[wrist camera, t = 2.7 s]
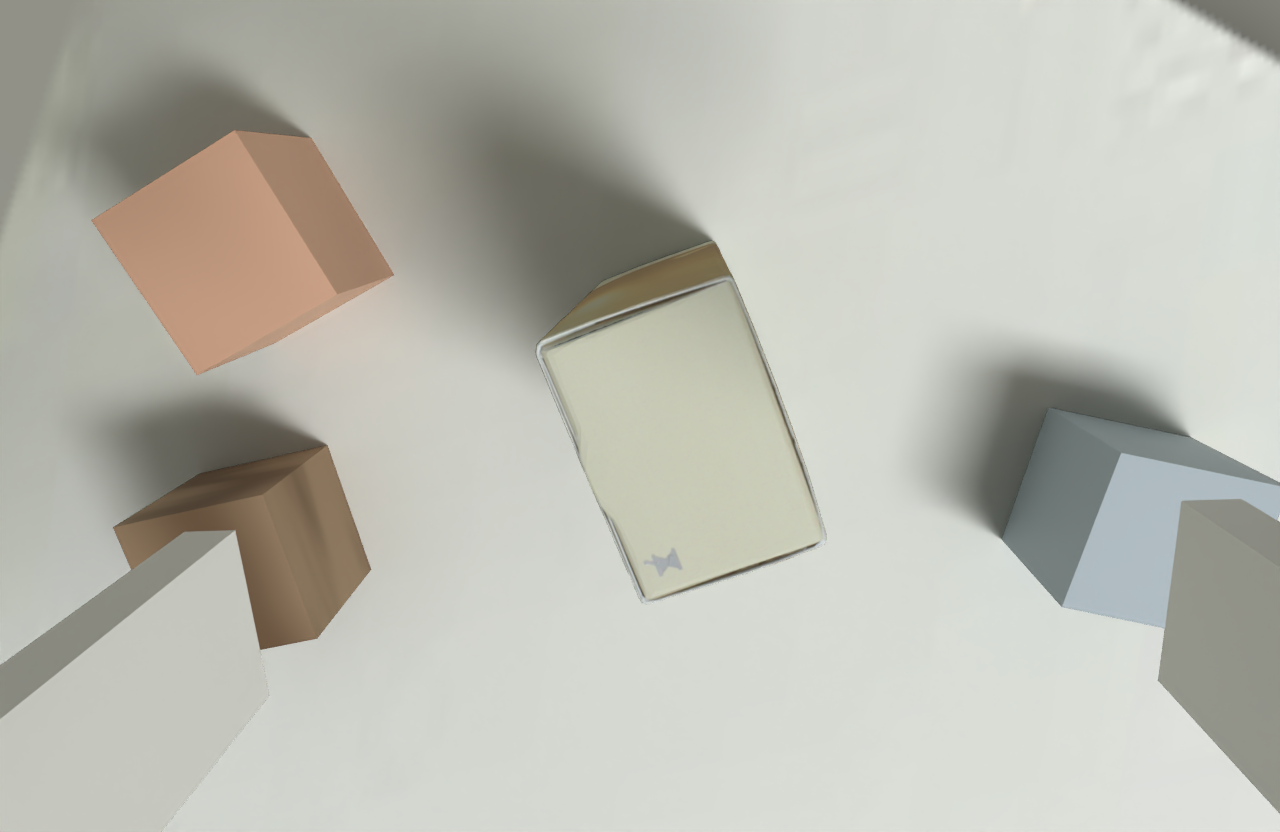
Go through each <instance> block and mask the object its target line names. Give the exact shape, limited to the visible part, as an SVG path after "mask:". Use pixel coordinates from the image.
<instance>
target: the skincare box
mask: <svg viewBox="0 0 1280 832" xmlns="http://www.w3.org/2000/svg"><path fill="white" fill-rule="evenodd" d="M535 353H536V357H537V359H538V361H539V363H540V366H541V368H542V371H543V373H544V376H545V378H546V381H547V383H548V386H549V388H550V391H551V393H552V395H553V398H554V400H555V403H556V405H557V407H558V410H559V412H560V415H561V417H562V419H563V422H564V424H565V427H566V429H567V431H568V434H569V436H570V438H571V440H572V443H573V445H574V448H575V450H576V453H577V456H578V458H579V460H580V463H581V465H582V467H583V470H584V472H585V474H586V477H587V479H588V482H589V484H590V486H591V489H592V491H593V493H594V495H595V498H596V500H597V502H598V504H599V507H600V509H601V511H602V513H603V516H604V518H605V520H606V523H607V525H608V527H609V530H610V532H611V534H612V537H613V539H614V542H615V544H616V546H617V548H618V551H619V553H620V555H621V558H622V560H623V562H624V565H625V567H626V569H627V572H628V574H629V576H630V578H631V580H632V583H633V585H634V587H635V590H636V592H637V595H638V598H639V599H640V601H641V602H642V603H643V604H646V605H647V604H651V603H654V602H658V601H661V600H664V599H666V598H669V597H673V596H676V595H680V594H684V593H687V592H690V591H693V590H696V589H699V588H702V587H706V586H709V585H713V584H716V583H719V582H721V581H724V580H727V579H731V578H734V577H737V576H740V575H744V574H747V573H750V572H753V571H756V570H759V569H762V568H765V567H768V566H770V565H774V564H776V563H779V562H782V561H785V560H788V559H790V558H792V557H794V556H797V555H799V554H802V553H805V552H808V551H811V550H814V549H816V548H819V547H821V546H823V545H825V543H826V540H827V537H826V531H825V528H824V524H823V521H822V517H821V514H820V510H819V507H818V504H817V500H816V497H815V494H814V490H813V487H812V484H811V481H810V477H809V474H808V471H807V468H806V465H805V462H804V459H803V457H802V454H801V451H800V448H799V445H798V442H797V439H796V437H795V434H794V431H793V428H792V425H791V422H790V420H789V417H788V414H787V412H786V409H785V406H784V404H783V401H782V398H781V396H780V393H779V390H778V387H777V385H776V382H775V380H774V377H773V375H772V372H771V369H770V367H769V364H768V362H767V359H766V357H765V354H764V352H763V349H762V347H761V344H760V341H759V339H758V336H757V334H756V331H755V329H754V326H753V324H752V321H751V319H750V317H749V314H748V312H747V309H746V307H745V304H744V302H743V300H742V297H741V295H740V292H739V290H738V287H737V285H736V283H735V280H734V278H733V276H732V274H731V272H730V271H729V269H728V267H727V265H726V263H725V261H724V259H723V257H722V255H721V252H720V250H719V248H718V246H717V244H716V242H714V241H709V242H706V243H703V244H700V245H697V246H695V247H692V248H689V249H686V250H683V251H680V252H678V253H675V254H672V255H669V256H666V257H664V258H661V259H658V260H655V261H653V262H650V263H647V264H644V265H642V266H639V267H637V268H634V269H632V270H629V271H627V272H624V273H622V274H619V275H616V276H614V277H611V278H609V279H606V280H604V281H602V282H601V283H600V284H599V285H598V286H597V287H596V288H595V289H594V290H592V291H591V292H590V293H589V294H588V295H587V296H586V297H585V298H584V299H583V300H582V301H581V302H580V303H579V304H578V305H577V306H576V307H575V308H574V309H573V310H572V311H571V312H570V313H569V314H568V315H567V316H565V317H564V318H563V319H562V320H561V321H560V322H559V323H558V324H557V325H556V326H555V327H554V328H553V329H552V330H551V331H550V332H549V333H548V334H547V335H546V336H545V337H543V338H542V339H541V340H540V341H539V342H538V343H537V345H536V352H535Z"/></svg>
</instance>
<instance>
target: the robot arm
mask: <svg viewBox="0 0 1280 832" xmlns="http://www.w3.org/2000/svg"><path fill="white" fill-rule="evenodd" d="M1158 681H1159V682H1160V683H1161V684H1162V685H1163V686H1164V687H1165V689H1166V690H1167V691H1168V692H1169V693H1170V694H1171V695H1172V696H1173V697H1174V698H1175V700H1176V701H1177V702H1178V703H1179V704H1180V705H1181V706H1182V707H1183V708H1184V709H1185V710H1186V712H1187V713H1188V714H1189V715H1190V716H1191V717H1192V718H1193V719H1194V720H1195V721H1196V723H1197V724H1198V725H1199V726H1200V727H1201V728H1202V729H1203V730H1204V731H1205V732H1206V733H1207V735H1208V736H1209V737H1210V738H1211V739H1212V740H1213V741H1214V742H1215V743H1216V744H1217V746H1218V747H1219V748H1220V749H1221V750H1222V751H1223V752H1224V753H1225V754H1226V755H1227V756H1228V758H1229V759H1230V760H1231V761H1232V762H1233V763H1234V764H1235V765H1236V766H1237V767H1238V769H1239V770H1240V771H1241V772H1242V773H1243V774H1244V775H1245V776H1246V777H1247V778H1248V779H1249V781H1250V782H1251V783H1252V784H1253V785H1254V786H1255V787H1256V788H1257V789H1258V790H1259V792H1260V793H1261V794H1262V795H1263V796H1264V797H1265V798H1266V799H1267V800H1268V801H1269V802H1270V804H1271V805H1272V806H1273V807H1274V808H1275V809H1276V810H1277V811H1278V812H1279V813H1280V522H1279V521H1277V520H1276V519H1274V518H1272V517H1271V516H1269V515H1267V514H1266V513H1264V512H1262V511H1261V510H1259V509H1257V508H1256V507H1254V506H1252V505H1251V504H1249V503H1247V502H1246V501H1244V500H1242V499H1222V500H1190V501H1181V509H1180V516H1179V524H1178V531H1177V539H1176V547H1175V554H1174V562H1173V570H1172V577H1171V585H1170V593H1169V600H1168V608H1167V615H1166V623H1165V631H1164V638H1163V646H1162V654H1161V661H1160V669H1159V677H1158ZM269 696H270V695H269V691H268V686H267V681H266V676H265V671H264V666H263V662H262V657H261V652H260V647H259V642H258V637H257V633H256V628H255V623H254V618H253V613H252V608H251V604H250V599H249V594H248V589H247V584H246V579H245V575H244V570H243V565H242V560H241V555H240V550H239V546H238V541H237V536H236V531H235V530H225V531H193V532H183V533H182V534H181V535H179V536H178V537H176V538H175V539H174V540H172V541H171V542H170V543H168V544H167V545H165V546H164V547H163V548H161V549H160V550H159V551H157V552H156V553H154V554H153V555H152V556H150V557H149V558H148V559H146V560H145V561H143V562H142V563H141V564H139V565H138V566H137V567H135V568H134V569H132V570H131V571H130V572H128V573H127V574H126V575H124V576H123V577H121V578H120V579H119V580H117V581H116V582H114V583H113V584H112V585H110V586H109V587H108V588H106V589H105V590H103V591H102V592H101V593H99V594H98V595H97V596H95V597H94V598H92V599H91V600H90V601H88V602H87V603H86V604H84V605H83V606H81V607H80V608H79V609H77V610H76V611H75V612H73V613H72V614H70V615H69V616H68V617H66V618H65V619H64V620H62V621H61V622H59V623H58V624H57V625H55V626H54V627H52V628H51V629H50V630H48V631H47V632H46V633H44V634H43V635H41V636H40V637H39V638H37V639H36V640H35V641H33V642H32V643H30V644H29V645H28V646H26V647H25V648H24V649H22V650H21V651H19V652H18V653H17V654H15V655H14V656H13V657H11V658H10V659H8V660H7V661H6V662H4V663H3V664H2V665H0V832H162V831H163V830H164V828H165V827H166V826H167V825H168V823H169V822H170V821H171V820H172V818H173V817H174V816H175V815H176V813H177V812H178V811H179V809H180V808H181V807H182V806H183V804H184V803H185V802H186V801H187V799H188V798H189V797H190V796H191V794H192V793H193V792H194V791H195V789H196V788H197V787H198V785H199V784H200V783H201V782H202V780H203V779H204V778H205V777H206V775H207V774H208V773H209V772H210V770H211V769H212V768H213V766H214V765H215V764H216V763H217V761H218V760H219V759H220V758H221V756H222V755H223V754H224V753H225V751H226V750H227V749H228V748H229V746H230V745H231V744H232V742H233V741H234V740H235V739H236V737H237V736H238V735H239V734H240V732H241V731H242V730H243V729H244V727H245V726H246V725H247V723H248V722H249V721H250V720H251V718H252V717H253V716H254V715H255V713H256V712H257V711H258V710H259V708H260V707H261V706H262V705H263V703H264V702H265V701H266V699H267V698H268V697H269Z"/></svg>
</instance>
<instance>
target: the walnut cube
mask: <svg viewBox="0 0 1280 832" xmlns="http://www.w3.org/2000/svg"><path fill="white" fill-rule="evenodd" d="M113 528H114V531H115V533H116V535H117V538H118V540H119V542H120V545H121V547H122V549H123V552H124V554H125V556H126V559H127V561H128V563H129V565H130V568H131V570H132V569H134V568H135V567H137V566H138V565H139V564H141V563H142V562H143V561H145V560H146V559H148V558H149V557H150V556H152V555H153V554H154V553H156V552H157V551H159V550H160V549H161V548H163V547H164V546H165V545H167V544H168V543H170V542H171V541H172V540H174V539H175V538H176V537H178V536H179V535H181V534H182V533H183V532H193V531H225V530H235V531H236V536H237V541H238V546H239V550H240V555H241V560H242V565H243V570H244V575H245V579H246V584H247V589H248V594H249V599H250V604H251V608H252V613H253V618H254V623H255V628H256V633H257V637H258V642H259V647H260V650H262V649H267V648H272V647H277V646H282V645H287V644H292V643H297V642H302V641H307V640H312V639H317V638H318V637H319V635H320V634H321V633H322V632H323V630H324V629H325V628H326V626H327V625H328V624H329V623H330V621H331V620H332V619H333V617H334V616H335V615H336V614H337V612H338V611H339V610H340V609H341V607H342V606H343V605H344V603H345V602H346V601H347V600H348V598H349V597H350V596H351V594H352V593H353V592H354V591H355V589H356V588H357V587H358V586H359V584H360V583H361V582H362V580H363V579H364V578H365V577H366V575H367V574H368V573H369V571H370V570H371V568H370V565H369V562H368V559H367V557H366V554H365V551H364V548H363V545H362V542H361V539H360V537H359V534H358V531H357V528H356V525H355V522H354V520H353V517H352V514H351V511H350V508H349V505H348V502H347V500H346V497H345V494H344V491H343V488H342V485H341V483H340V480H339V477H338V474H337V471H336V468H335V465H334V463H333V460H332V457H331V454H330V451H329V448H328V446H327V445H326V446H322V447H317V448H313V449H308V450H304V451H299V452H295V453H290V454H286V455H281V456H277V457H272V458H268V459H263V460H259V461H254V462H250V463H245V464H241V465H236V466H232V467H227V468H223V469H218V470H214V471H209V472H205V473H200V474H198V475H197V476H195V477H193V478H192V479H190V480H189V481H187V482H185V483H184V484H182V485H181V486H179V487H177V488H176V489H174V490H172V491H171V492H169V493H168V494H166V495H164V496H163V497H161V498H160V499H158V500H156V501H155V502H153V503H152V504H150V505H148V506H147V507H145V508H143V509H142V510H140V511H139V512H137V513H135V514H134V515H132V516H131V517H129V518H127V519H126V520H124V521H123V522H121V523H119V524H118V525H116V526H114V527H113Z"/></svg>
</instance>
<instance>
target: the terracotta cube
mask: <svg viewBox="0 0 1280 832" xmlns="http://www.w3.org/2000/svg"><path fill="white" fill-rule="evenodd" d="M91 221H92V222H93V224H94V225H95V227H96V228H97V229H98V231H99V232H100V234H101V235H102V237H103V238H104V240H105V241H106V243H107V244H108V246H109V247H110V248H111V250H112V251H113V253H114V254H115V256H116V257H117V259H118V260H119V262H120V263H121V265H122V266H123V268H124V269H125V270H126V272H127V273H128V275H129V276H130V278H131V279H132V281H133V282H134V284H135V285H136V287H137V288H138V290H139V291H140V292H141V294H142V295H143V297H144V298H145V300H146V301H147V303H148V304H149V306H150V307H151V309H152V310H153V312H154V313H155V314H156V316H157V317H158V319H159V320H160V322H161V323H162V325H163V326H164V328H165V329H166V331H167V332H168V333H169V335H170V336H171V338H172V339H173V341H174V342H175V344H176V345H177V347H178V348H179V350H180V351H181V353H182V354H183V355H184V357H185V358H186V360H187V361H188V363H189V364H190V366H191V367H192V369H193V370H194V372H195V373H196V375H199V374H201V373H203V372H206V371H208V370H211V369H213V368H216V367H218V366H220V365H223V364H225V363H228V362H230V361H233V360H235V359H237V358H240V357H242V356H245V355H247V354H250V353H252V352H254V351H257V350H259V349H262V348H264V347H267V346H269V345H271V344H274V343H276V342H278V341H279V340H281V339H283V338H285V337H286V336H288V335H290V334H292V333H293V332H295V331H297V330H299V329H300V328H302V327H304V326H306V325H307V324H309V323H311V322H313V321H314V320H316V319H318V318H320V317H321V316H323V315H325V314H327V313H328V312H330V311H332V310H334V309H335V308H337V307H339V306H341V305H342V304H344V303H346V302H348V301H349V300H351V299H353V298H355V297H356V296H358V295H360V294H362V293H363V292H365V291H367V290H369V289H370V288H372V287H374V286H376V285H377V284H379V283H381V282H383V281H384V280H386V279H388V278H390V277H391V276H393V275H394V274H393V272H392V270H391V269H390V267H389V265H388V264H387V262H386V261H385V259H384V257H383V256H382V254H381V252H380V251H379V249H378V247H377V246H376V244H375V242H374V241H373V239H372V237H371V236H370V234H369V232H368V231H367V229H366V228H365V226H364V224H363V223H362V221H361V219H360V218H359V216H358V214H357V213H356V211H355V209H354V208H353V206H352V204H351V203H350V201H349V199H348V198H347V196H346V195H345V193H344V191H343V190H342V188H341V186H340V185H339V183H338V181H337V180H336V178H335V176H334V175H333V173H332V171H331V170H330V168H329V167H328V165H327V163H326V162H325V160H324V158H323V157H322V155H321V153H320V152H319V150H318V148H317V147H316V145H315V143H314V142H313V140H312V138H306V137H297V136H287V135H277V134H267V133H258V132H248V131H238V130H234V131H232V132H231V133H229V134H227V135H226V136H224V137H223V138H221V139H220V140H218V141H216V142H215V143H213V144H212V145H210V146H208V147H207V148H205V149H204V150H202V151H200V152H199V153H197V154H196V155H194V156H193V157H191V158H189V159H188V160H186V161H185V162H183V163H181V164H180V165H178V166H177V167H175V168H174V169H172V170H170V171H169V172H167V173H166V174H164V175H162V176H161V177H159V178H158V179H156V180H154V181H153V182H151V183H150V184H148V185H147V186H145V187H143V188H142V189H140V190H139V191H137V192H135V193H134V194H132V195H131V196H129V197H128V198H126V199H124V200H123V201H121V202H120V203H118V204H116V205H115V206H113V207H112V208H110V209H108V210H107V211H105V212H104V213H102V214H101V215H99V216H97V217H96V218H94V219H93V220H91Z"/></svg>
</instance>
